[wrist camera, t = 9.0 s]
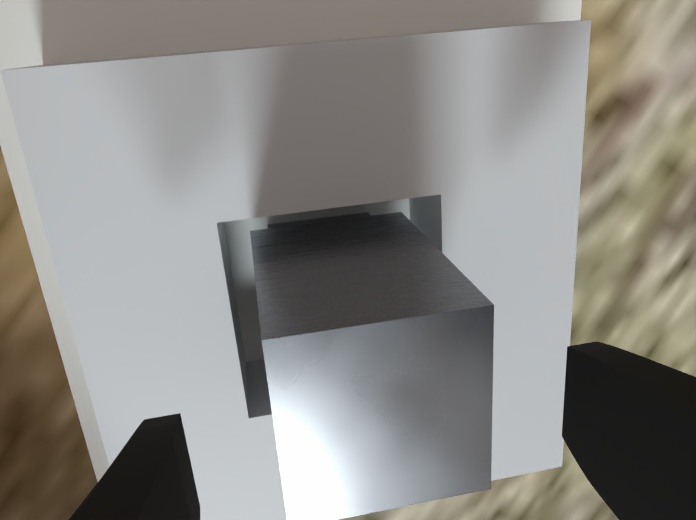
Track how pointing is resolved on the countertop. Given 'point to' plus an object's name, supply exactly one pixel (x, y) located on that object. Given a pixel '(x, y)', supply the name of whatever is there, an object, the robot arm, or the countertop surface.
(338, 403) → the grey tall block
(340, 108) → the bracket board
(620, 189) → the countertop surface
